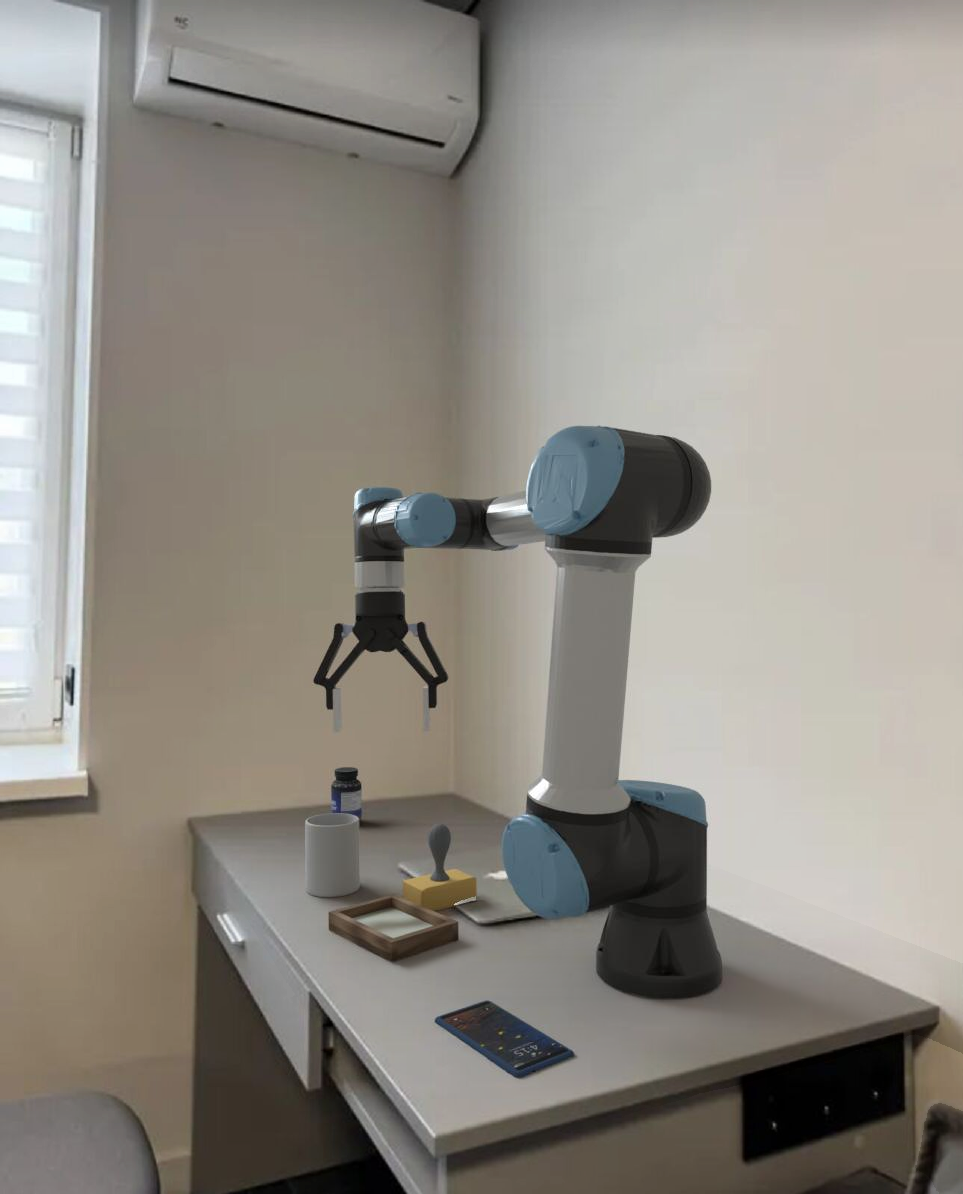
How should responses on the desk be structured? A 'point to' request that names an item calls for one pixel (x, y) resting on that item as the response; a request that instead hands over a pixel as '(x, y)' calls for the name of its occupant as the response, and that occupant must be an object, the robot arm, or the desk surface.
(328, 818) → the mug
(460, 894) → the rubber stamp
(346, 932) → the tray
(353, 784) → the pill bottle
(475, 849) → the desk surface
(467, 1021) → the smartphone
